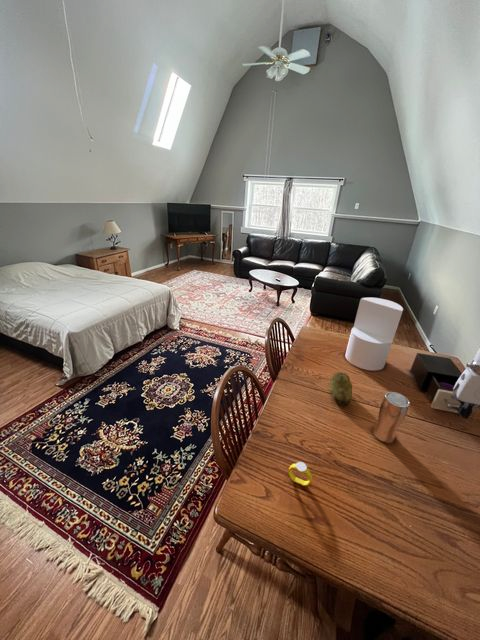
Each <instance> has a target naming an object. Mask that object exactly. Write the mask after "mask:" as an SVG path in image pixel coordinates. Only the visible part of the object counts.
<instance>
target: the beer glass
mask: <svg viewBox="0 0 480 640" xmlns="http://www.w3.org/2000/svg"><path fill="white" fill-rule="evenodd" d="M410 404H411V403H410V400H409V399H408V398H407V397H406V396H404V395H403V394H401V393H399V392H395V391H388V392H386V393H384V397H383V398H382V401H381V404H380V406H379V409H378V418H377V419H378V420H377V423H376V425H375V427H374V428H373V431H372V433H373V436H374V437H375V439H377V440H379V441H380V442H382V443H386V444H391V443H393V442H394V441H395V437H396V432H397V430H398V429H399V428H400V426H401V425H402V423H403V422H404V420H405V419H406V416H407V414H408V411H409V407H410Z"/></svg>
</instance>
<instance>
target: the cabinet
mask: <svg viewBox="0 0 480 640" xmlns="http://www.w3.org/2000/svg"><path fill="white" fill-rule="evenodd" d="M409 373H410V374H411V376H412V378H413V380H414V382H415V384H416V385H417V388H418V391H419V392H424V393H426V391H425V389H424V386H425V383H426V381H427V379H428V376H429V374H436V375H442V376H447V377H453V378H458V379H459V377H460V376H461V375H462V373H463V372H462V371H461V370H460V369H459V368H458V366H457V365H456V363H455V362H454V361H453V360H452V359H451V358H450V357H444V356H438V355H432V354H427V353H420V352H416V354H415V357H414V359H413V361H412V365H411V368H410V370H409Z"/></svg>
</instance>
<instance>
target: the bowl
mask: <svg viewBox="0 0 480 640" xmlns="http://www.w3.org/2000/svg"><path fill="white" fill-rule="evenodd" d="M439 385H440V387H441V390H446V391H452V392H453V388H454V386H453V385H451V384H448V383H444V382H440V383H439Z"/></svg>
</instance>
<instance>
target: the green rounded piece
mask: <svg viewBox="0 0 480 640" xmlns="http://www.w3.org/2000/svg"><path fill="white" fill-rule="evenodd" d="M330 392H331V397H332V398H333V400H334V401H335V402H336V403H337V404H339V405H340V406H343V407H344V406H345V407H346V406H349V405H350V403H351V402H352V395H353V384H352V382H351V379H350V376H349V375H348V374H347V373H345V372H341V371H337V372H335V373H334V374H333V375H332V376H331V378H330Z"/></svg>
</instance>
